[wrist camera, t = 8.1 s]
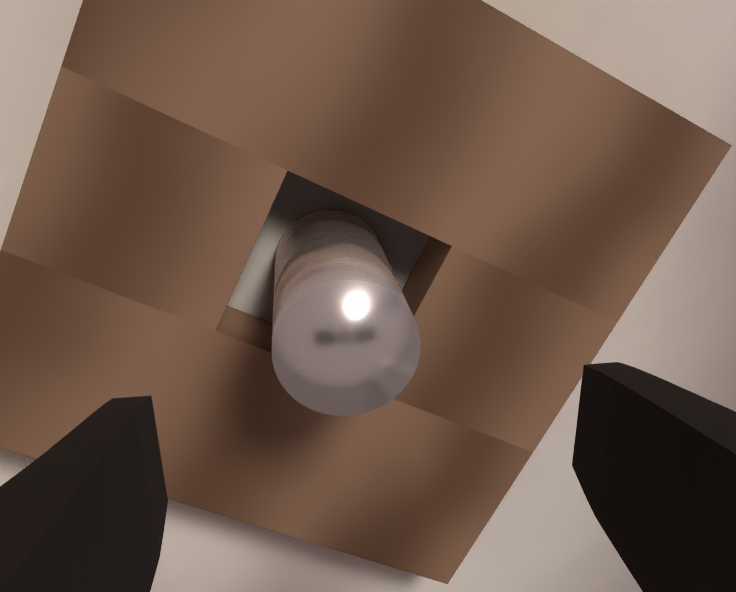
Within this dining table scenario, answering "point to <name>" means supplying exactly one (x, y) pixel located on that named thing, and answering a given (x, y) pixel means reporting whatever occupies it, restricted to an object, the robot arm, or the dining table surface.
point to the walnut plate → (363, 185)
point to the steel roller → (340, 317)
